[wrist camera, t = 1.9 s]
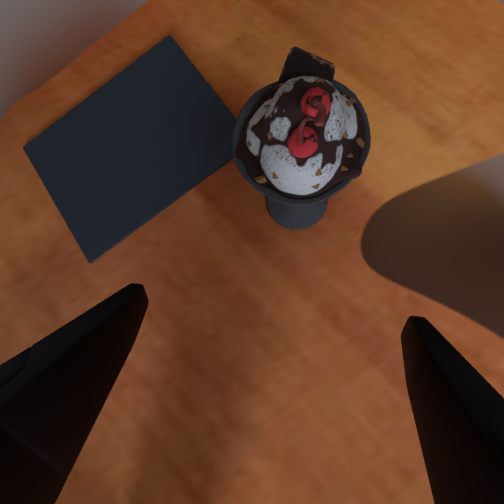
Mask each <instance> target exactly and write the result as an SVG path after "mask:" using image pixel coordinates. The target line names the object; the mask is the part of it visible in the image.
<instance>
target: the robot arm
mask: <svg viewBox="0 0 504 504" xmlns="http://www.w3.org/2000/svg"><path fill="white" fill-rule="evenodd" d="M147 307H148V297H147V295H146V292H145V289H144V286H143V285H141V284H134V283H132V284H129V285H127V286H126V287H124V288H123V289H121V290H119V291H118V292H116V293H115V294H113V295H112V296H110V297H108V298H107V299H105V300H104V301H102V302H100V303H99V304H97V305H96V306H94V307H93V308H91V309H89V310H88V311H86V312H85V313H83V314H81V315H80V316H78V317H77V318H75V319H74V320H72V321H70V322H69V323H67V324H66V325H64V326H62V327H61V328H59V329H58V330H56V331H55V332H53V333H51V334H50V335H48V336H47V337H45V338H43V339H42V340H40V341H39V342H37V343H35V344H34V345H32V347H29V348H27V349H26V350H24V351H23V352H21V353H20V354H18V355H16V356H15V357H13V358H11V359H10V360H8V361H6V362H5V363H3V364H2V365H0V504H55V502H56V500H57V498H58V496H59V494H60V492H61V490H62V488H63V486H64V484H65V482H66V480H67V477H68V476H69V474H70V472H71V470H72V468H73V466H74V464H75V462H76V460H77V458H78V456H79V454H80V452H81V449H82V447H83V445H84V443H85V441H86V439H87V437H88V435H89V433H90V431H91V429H92V427H93V425H94V423H95V421H96V419H97V417H98V415H99V413H100V411H101V409H102V407H103V405H104V403H105V401H106V399H107V397H108V395H109V393H110V391H111V389H112V387H113V385H114V383H115V381H116V379H117V377H118V375H119V373H120V371H121V369H122V367H123V365H124V363H125V361H126V359H127V357H128V355H129V353H130V351H131V349H132V347H133V345H134V342H135V340H136V337H137V334H138V332H139V329H140V326H141V324H142V321H143V318H144V316H145V313H146V310H147ZM401 343H402V352H403V360H404V369H405V377H406V384H407V389H408V394H409V398H410V402H411V407H412V411H413V415H414V419H415V423H416V428H417V432H418V436H419V440H420V444H421V449H422V453H423V457H424V461H425V465H426V470H427V474H428V478H429V482H430V486H431V491H432V495H433V499H434V503H435V504H504V398H503V397H502V396H501V395H500V394H499V393H498V392H497V391H496V390H495V389H494V388H493V387H492V386H491V385H490V384H489V383H488V382H487V381H486V380H485V379H484V378H483V377H482V376H481V375H480V374H479V373H478V372H477V370H476V369H475V368H474V367H473V366H472V365H471V364H470V363H469V362H468V361H467V360H466V359H465V358H464V357H463V356H462V355H461V354H460V353H459V352H458V351H457V350H456V349H455V348H454V347H453V346H452V345H451V344H450V343H449V342H448V341H447V340H446V339H445V338H444V337H443V336H442V335H441V334H440V332H439V331H438V330H437V329H436V328H435V327H434V326H433V325H432V324H431V323H430V322H429V321H428V320H427V319H426V318H424V317H419V316H410V317H409V318H408V320H407V322H406V324H405V326H404V328H403V330H402V333H401Z"/></svg>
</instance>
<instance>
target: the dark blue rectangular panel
mask: <svg viewBox="0 0 504 504" xmlns="http://www.w3.org/2000/svg"><path fill="white" fill-rule="evenodd" d="M236 121H237V120H236V119H235V118H234V116H233V115H232V114H231V113H230V111H229V110H228V109H227V107H226V106H225V105H224V104H223V102H222V101H221V100H220V98H219V97H218V96H217V95H216V93H215V92H214V91H213V89H212V88H211V87H210V86H209V84H208V83H207V82H206V80H205V79H204V78H203V77H202V75H201V74H200V73H199V71H198V70H197V69H196V68H195V66H194V65H193V64H192V63H191V61H190V60H189V59H188V57H187V56H186V55H185V54H184V52H183V51H182V50H181V48H180V47H179V46H178V45H177V43H176V42H175V41H174V39H173V38H172V37H171V36H170V35H168V36H167V37H166V38H164V39H163V40H162V41H160V42H159V43H158V44H157V45H155V46H154V47H153V48H151V49H150V50H149V51H148V52H146V53H145V54H144V55H142V56H141V57H140V58H138V59H137V60H136V61H135V62H133V63H132V64H131V65H129V66H128V67H127V68H125V69H124V70H123V71H122V72H120V73H119V74H118V75H116V76H115V77H114V78H112V79H111V80H110V81H109V82H107V83H106V84H105V85H103V86H102V87H101V88H99V89H98V90H97V91H96V92H94V93H93V94H92V95H90V96H89V97H88V98H86V99H85V100H84V101H83V102H81V103H80V104H79V105H77V106H76V107H75V108H74V109H72V110H71V111H70V112H68V113H67V114H66V115H64V116H63V117H62V118H61V119H59V120H58V121H57V122H55V123H54V124H53V125H51V126H50V127H49V128H48V129H46V130H45V131H44V132H42V133H41V134H40V135H38V136H37V137H36V138H35V139H33V140H32V141H31V142H29V143H28V144H27V145H25V146H24V147H23V149H24V150H25V152H26V154H27V156H28V157H29V159H30V161H31V163H32V164H33V166H34V168H35V169H36V171H37V173H38V175H39V176H40V178H41V180H42V182H43V183H44V185H45V187H46V189H47V190H48V192H49V194H50V196H51V197H52V199H53V201H54V203H55V204H56V206H57V208H58V210H59V211H60V213H61V215H62V216H63V218H64V220H65V222H66V223H67V225H68V227H69V229H70V230H71V232H72V234H73V236H74V237H75V239H76V241H77V243H78V244H79V246H80V248H81V250H82V251H83V253H84V255H85V257H86V258H87V260H88V262H89V263H92V262H93V261H94V260H96V259H97V258H98V257H100V256H101V255H102V254H104V253H105V252H106V251H108V250H109V249H111V248H112V247H113V246H115V245H116V244H117V243H119V242H120V241H121V240H123V239H124V238H125V237H127V236H128V235H129V234H131V233H132V232H133V231H135V230H136V229H138V228H139V227H140V226H142V225H143V224H144V223H146V222H147V221H148V220H150V219H151V218H152V217H154V216H155V215H156V214H158V213H159V212H161V211H162V210H163V209H165V208H166V207H167V206H169V205H170V204H171V203H173V202H174V201H175V200H177V199H178V198H179V197H181V196H182V195H183V194H185V193H186V192H188V191H189V190H190V189H192V188H193V187H194V186H196V185H197V184H198V183H200V182H201V181H202V180H204V179H205V178H206V177H208V176H209V175H211V174H212V173H213V172H215V171H216V170H217V169H219V168H220V167H221V166H223V165H224V164H225V163H227V162H228V161H229V160H231V159H232V158H233V157H234V156H233V146H232V142H233V132H234V128H235V124H236Z"/></svg>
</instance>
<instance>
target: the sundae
mask: <svg viewBox="0 0 504 504" xmlns="http://www.w3.org/2000/svg"><path fill="white" fill-rule="evenodd" d="M334 73H335V65H334V64H333V63H331V62H329V61H327V60H325V59H323V58H321V57H319V56H317V55H315V54H312V53H309V52H306V51H304V50H302V49H300V48H298V47H296V46H295V47H293V48H291V49H290V51H289V54H288V56H287V59H286V62H285V64H284V67H283V70H282V72H281V75H280V78H279V81H277V82H275V83H272V84H269V85H267V86H265V87H263V88H262V89H260V90H258V91H257V92H256V93H255V94H254V95H253V96H252V97H251V98H250V99H249V100H248V101H247V102H246V104H245V105H244V106H243V108H242V109H241V111H240V114H239V116H238V119H237V121H236V124H235V128H234V132H233V142H232V146H233V156H234V161H235V163H236V165H237V167H238V169H239V171H240V173H241V174H242V176H243V177H244V179H245V180H246V181H247V182H248V183H249V184H251V185H252V186H253V187H254V188H255V189H256V190H258V191H259V192H261V193H262V194H263V195H265V196H267V207H268V210H269V213H270V215H271V216H272V218H273V219H274V220H275V221H276V222H277V223H278V224H280V225H281V226H283V227H286V228H289V229H304V228H307V227H310V226H312V225H313V224H315V223H316V222H317V221H318V220H319V219H320V218H321V217H322V216H323V214H324V212H325V210H326V207H327V198H329V197H331V196H333V195H334V194H336V193H337V192H339V191H340V190H342V189H343V188H345V187H346V186H347V185H348V183H349V182H350V181H351V180H352V179H355V178H357V177H358V176H360V174H361V173H362V167H363V165H364V163H365V160H366V158H367V156H368V153H369V149H370V140H371V135H370V127H369V122H368V118H367V115H366V113H365V110H364V108H363V106H362V104H361V103H360V101H359V100H358V98H357V97H356V95H355V94H354V93H353V92H352V91H351V90H350V89H348V88H347V87H346V86H345V85H343V84H341V83H339V82H337V81H336V80H334V79H333V78H334Z"/></svg>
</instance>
